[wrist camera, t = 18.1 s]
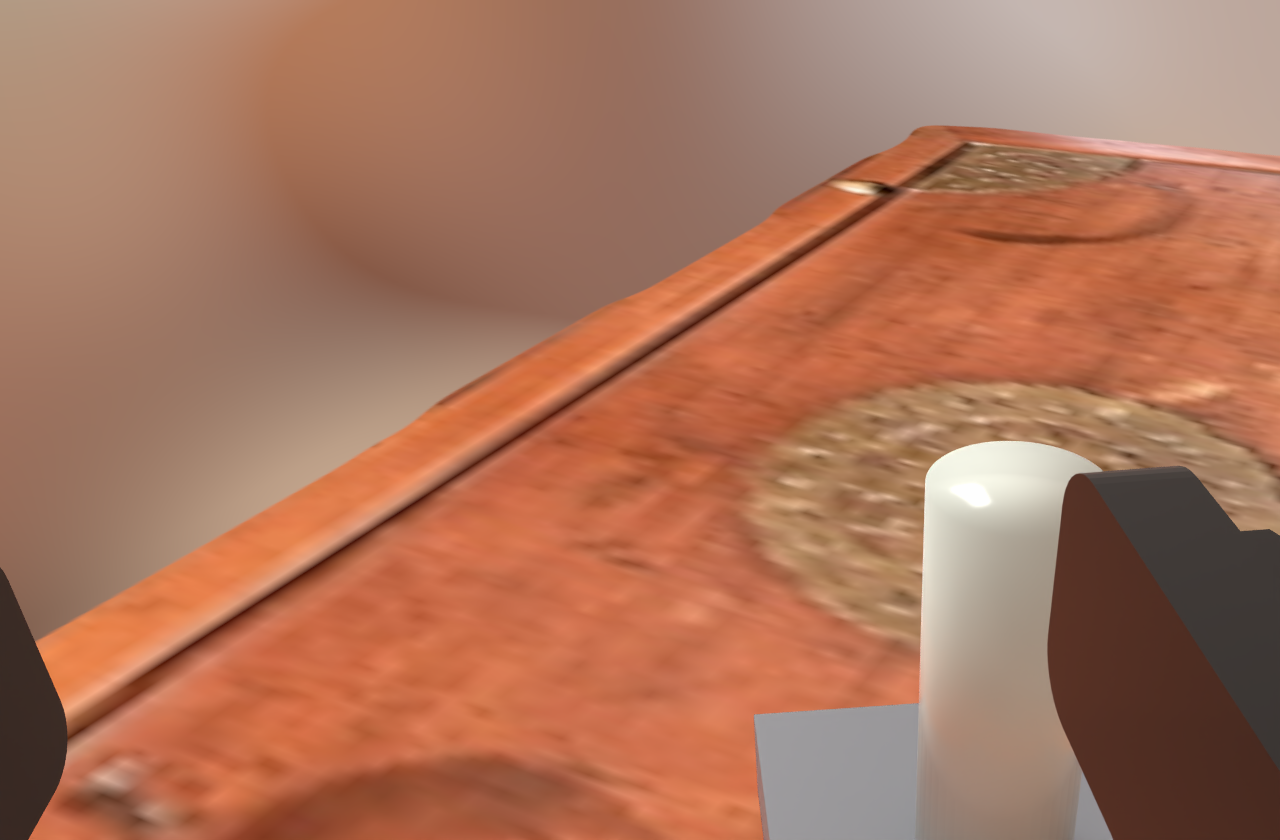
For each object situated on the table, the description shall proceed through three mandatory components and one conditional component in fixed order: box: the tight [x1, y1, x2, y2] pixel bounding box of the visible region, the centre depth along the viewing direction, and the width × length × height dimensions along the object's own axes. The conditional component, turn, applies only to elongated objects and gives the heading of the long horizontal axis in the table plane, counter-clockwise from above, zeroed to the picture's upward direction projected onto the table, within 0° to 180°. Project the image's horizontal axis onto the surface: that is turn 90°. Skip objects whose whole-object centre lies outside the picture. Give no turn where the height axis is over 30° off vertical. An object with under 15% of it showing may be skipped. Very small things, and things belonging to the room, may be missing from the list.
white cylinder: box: [915, 441, 1103, 840], centre depth 34 cm, size 5×5×14 cm
